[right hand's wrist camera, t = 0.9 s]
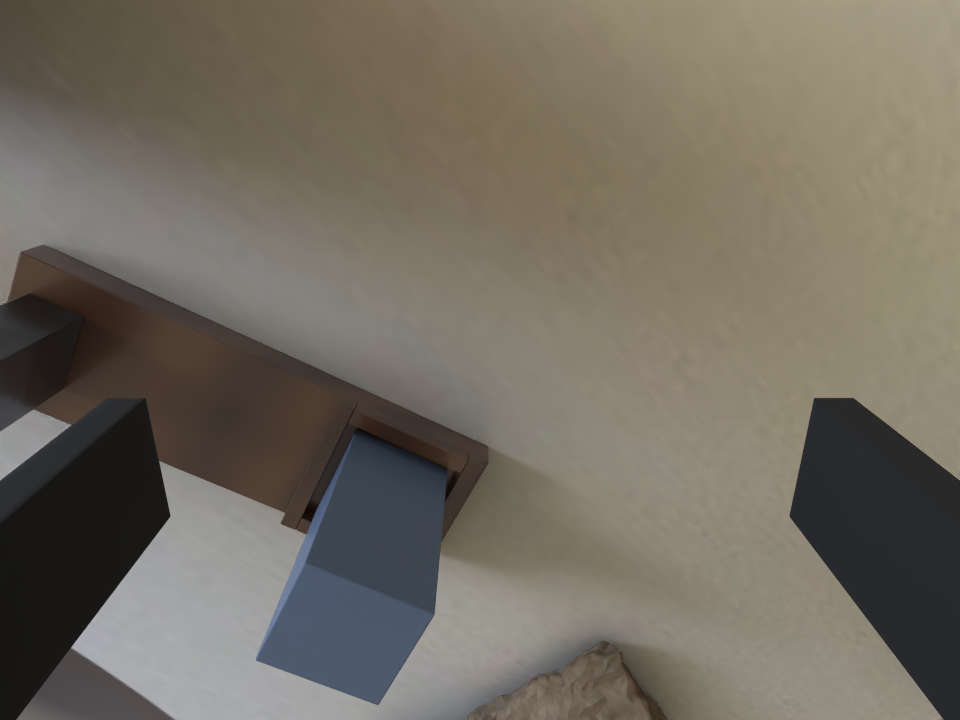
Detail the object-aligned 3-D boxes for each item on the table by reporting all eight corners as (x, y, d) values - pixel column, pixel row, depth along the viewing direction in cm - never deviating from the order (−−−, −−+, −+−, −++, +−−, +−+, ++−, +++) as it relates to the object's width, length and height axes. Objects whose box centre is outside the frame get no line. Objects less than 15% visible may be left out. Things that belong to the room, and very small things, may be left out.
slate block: (448, 468, 39) (434, 615, 28) (406, 541, 41) (378, 706, 29) (356, 428, 38) (304, 562, 27) (318, 505, 40) (254, 660, 28)
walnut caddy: (489, 445, 40) (491, 545, 31) (426, 551, 43) (411, 673, 34) (43, 242, 36) (-111, 289, 26) (7, 377, 39) (-142, 462, 29)
